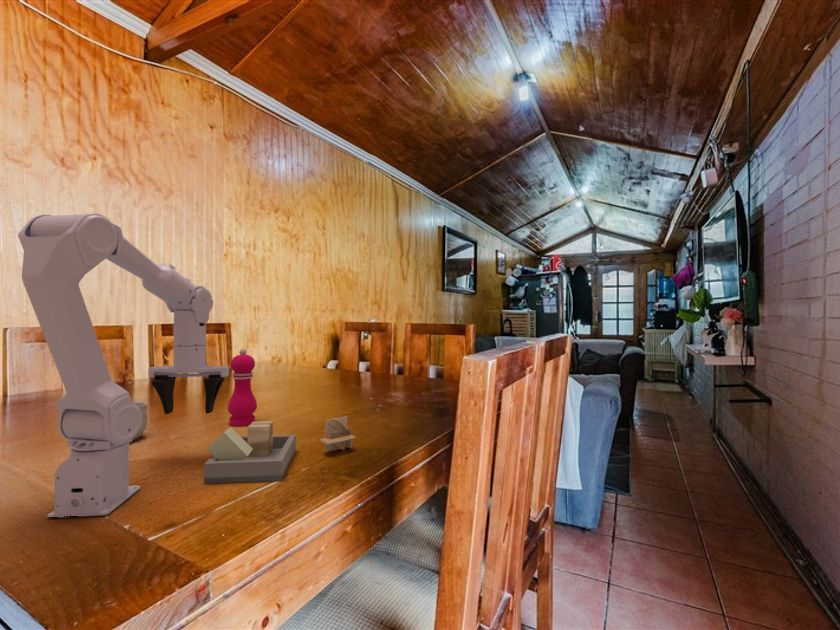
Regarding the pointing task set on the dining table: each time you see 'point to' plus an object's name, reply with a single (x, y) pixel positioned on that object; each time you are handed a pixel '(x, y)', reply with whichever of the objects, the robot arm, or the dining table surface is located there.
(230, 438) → the sage block
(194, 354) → the robot arm
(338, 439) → the architectural model
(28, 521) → the dining table surface
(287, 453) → the tray
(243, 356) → the pepper mill
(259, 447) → the brown metal block
